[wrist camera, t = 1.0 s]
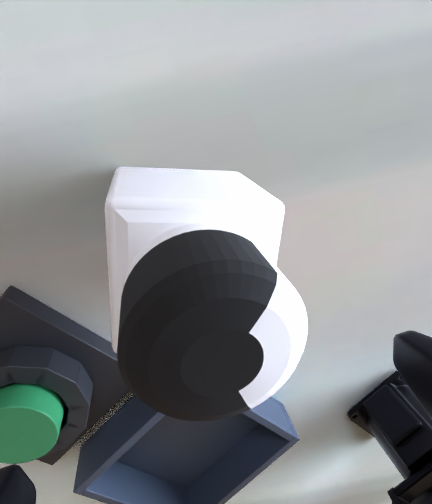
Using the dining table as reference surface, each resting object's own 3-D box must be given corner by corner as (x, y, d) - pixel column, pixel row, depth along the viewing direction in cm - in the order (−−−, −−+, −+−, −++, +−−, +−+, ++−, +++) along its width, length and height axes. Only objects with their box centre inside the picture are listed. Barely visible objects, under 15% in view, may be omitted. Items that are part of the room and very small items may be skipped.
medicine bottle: (119, 281, 21) (101, 465, 10) (114, 165, 18) (83, 254, 8) (229, 277, 23) (311, 434, 12) (240, 170, 20) (361, 250, 9)
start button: (79, 402, 21) (74, 426, 19) (35, 446, 21) (27, 473, 20) (12, 370, 19) (0, 394, 17) (-34, 420, 20) (-49, 447, 18)
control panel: (144, 361, 24) (145, 396, 21) (56, 448, 26) (46, 491, 23) (11, 284, 20) (-10, 315, 17) (-85, 393, 21) (-119, 439, 18)
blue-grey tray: (282, 404, 29) (300, 439, 26) (185, 489, 31) (191, 532, 28) (188, 341, 24) (195, 376, 21) (80, 447, 26) (72, 492, 23)
